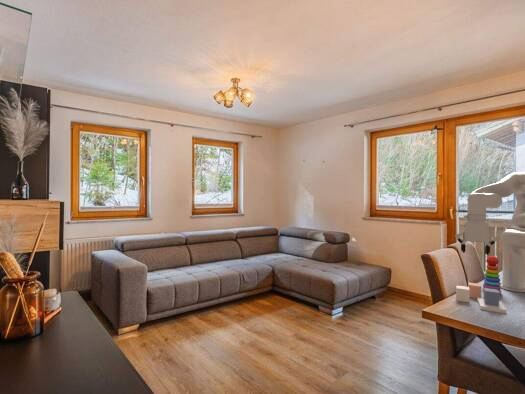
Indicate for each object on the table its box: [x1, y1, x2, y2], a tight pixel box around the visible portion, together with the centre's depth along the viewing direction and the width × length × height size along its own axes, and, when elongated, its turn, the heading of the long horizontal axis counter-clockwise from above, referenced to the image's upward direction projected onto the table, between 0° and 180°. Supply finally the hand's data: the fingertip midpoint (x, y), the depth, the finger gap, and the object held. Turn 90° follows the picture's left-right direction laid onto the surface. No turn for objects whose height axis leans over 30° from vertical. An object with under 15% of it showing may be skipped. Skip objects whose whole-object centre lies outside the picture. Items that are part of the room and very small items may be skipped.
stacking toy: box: [481, 255, 502, 295], centre depth 158 cm, size 8×8×19 cm
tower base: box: [476, 288, 507, 314], centre depth 138 cm, size 12×9×8 cm
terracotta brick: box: [467, 281, 482, 299], centre depth 152 cm, size 5×5×6 cm
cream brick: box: [455, 284, 470, 303], centre depth 147 cm, size 5×5×6 cm
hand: (475, 253), depth 150 cm, fingers open, 9 cm apart
